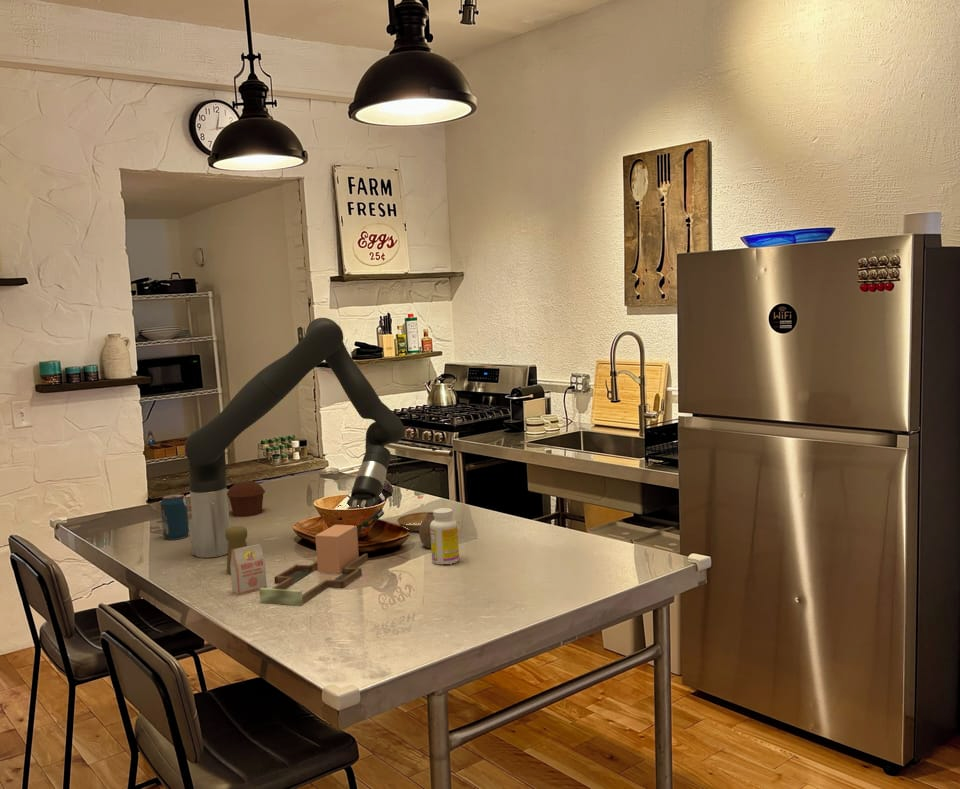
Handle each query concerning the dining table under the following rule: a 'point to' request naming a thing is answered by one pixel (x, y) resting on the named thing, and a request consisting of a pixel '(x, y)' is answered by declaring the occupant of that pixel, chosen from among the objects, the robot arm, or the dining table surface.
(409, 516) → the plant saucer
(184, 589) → the dining table surface
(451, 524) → the supplement bottle
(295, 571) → the trap lane
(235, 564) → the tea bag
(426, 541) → the vase
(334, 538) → the terracotta block
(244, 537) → the olive ball-topped cylinder
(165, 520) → the soda can
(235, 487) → the muffin
